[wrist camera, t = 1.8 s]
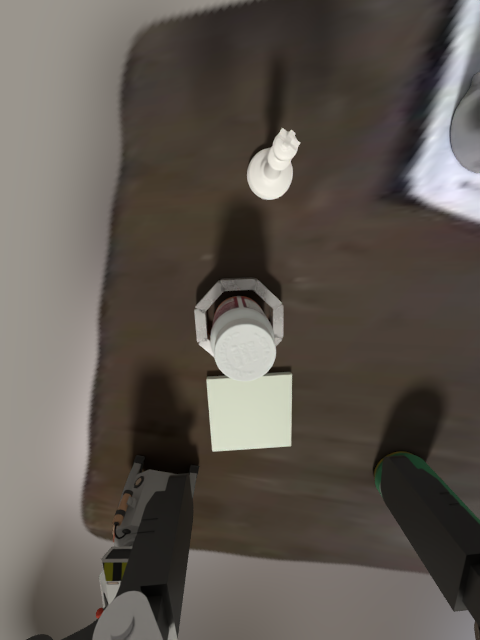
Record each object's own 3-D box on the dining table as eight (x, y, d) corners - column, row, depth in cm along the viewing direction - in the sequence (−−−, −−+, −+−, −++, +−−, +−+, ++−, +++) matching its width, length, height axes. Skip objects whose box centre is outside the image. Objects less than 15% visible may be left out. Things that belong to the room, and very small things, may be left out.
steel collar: (194, 279, 30) (191, 281, 28) (279, 275, 31) (283, 277, 29) (200, 359, 33) (199, 366, 31) (279, 355, 33) (283, 361, 31)
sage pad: (207, 376, 34) (206, 379, 33) (290, 371, 34) (291, 374, 33) (212, 447, 36) (212, 451, 36) (289, 442, 37) (291, 446, 36)
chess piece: (274, 209, 29) (298, 187, 19) (238, 181, 28) (243, 144, 18) (301, 168, 28) (339, 124, 18) (264, 139, 27) (284, 75, 17)
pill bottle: (213, 342, 33) (206, 387, 22) (214, 293, 31) (207, 316, 20) (262, 343, 33) (279, 388, 22) (265, 295, 31) (285, 318, 20)
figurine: (126, 507, 39) (65, 660, 24) (139, 443, 36) (78, 573, 21) (186, 516, 40) (162, 669, 25) (203, 455, 37) (187, 587, 22)
